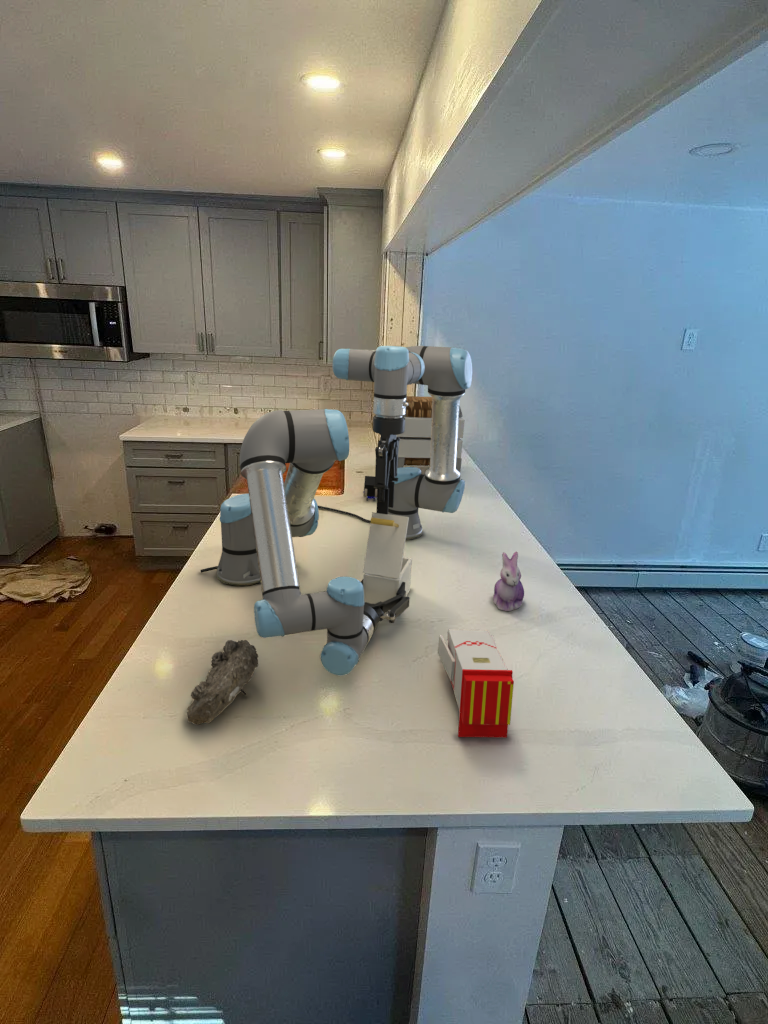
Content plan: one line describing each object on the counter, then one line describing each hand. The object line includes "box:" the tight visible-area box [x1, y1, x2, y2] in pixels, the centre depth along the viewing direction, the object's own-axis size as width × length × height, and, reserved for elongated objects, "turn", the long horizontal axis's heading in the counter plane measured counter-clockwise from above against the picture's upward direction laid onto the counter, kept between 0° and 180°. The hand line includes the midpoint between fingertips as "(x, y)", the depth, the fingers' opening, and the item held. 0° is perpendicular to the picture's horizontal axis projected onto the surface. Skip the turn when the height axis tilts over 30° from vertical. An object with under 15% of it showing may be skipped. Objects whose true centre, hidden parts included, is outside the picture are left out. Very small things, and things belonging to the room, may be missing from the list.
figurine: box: [492, 551, 525, 612], centre depth 152 cm, size 9×10×15 cm
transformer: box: [397, 393, 465, 475], centre depth 268 cm, size 34×33×41 cm
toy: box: [437, 628, 515, 738], centre depth 117 cm, size 12×13×30 cm
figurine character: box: [362, 475, 377, 502], centre depth 236 cm, size 7×8×15 cm
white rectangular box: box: [362, 511, 409, 579], centre depth 142 cm, size 16×10×9 cm
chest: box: [362, 556, 413, 614], centre depth 153 cm, size 15×10×10 cm, turn 165°
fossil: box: [186, 639, 259, 726], centre depth 113 cm, size 22×10×15 cm
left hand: (384, 583), depth 150 cm, fingers closed on chest, 9 cm apart
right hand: (385, 509), depth 140 cm, fingers open, 4 cm apart
